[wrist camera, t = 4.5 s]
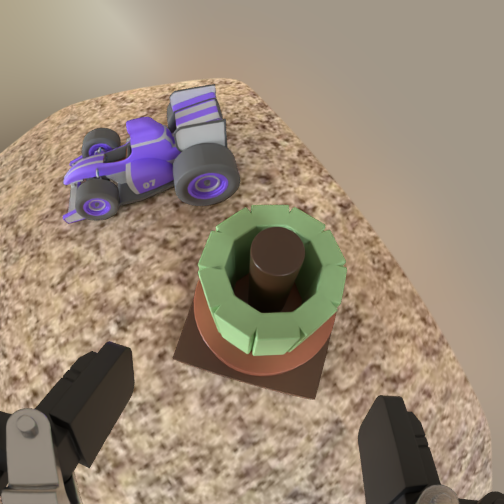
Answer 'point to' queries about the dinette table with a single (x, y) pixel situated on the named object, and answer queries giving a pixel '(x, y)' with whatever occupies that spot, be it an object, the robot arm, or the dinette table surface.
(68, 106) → the dinette table surface
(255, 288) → the stand
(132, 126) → the toy race car
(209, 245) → the green ring
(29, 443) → the robot arm
